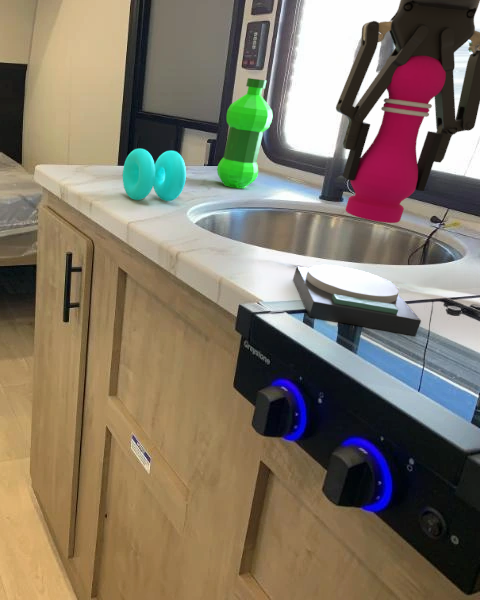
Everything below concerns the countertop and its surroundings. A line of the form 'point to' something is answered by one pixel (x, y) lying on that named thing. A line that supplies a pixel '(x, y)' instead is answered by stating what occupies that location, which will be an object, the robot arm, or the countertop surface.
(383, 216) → the pepper mill
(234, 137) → the plastic bottle
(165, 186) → the turquoise spool
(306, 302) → the kitchen scale
